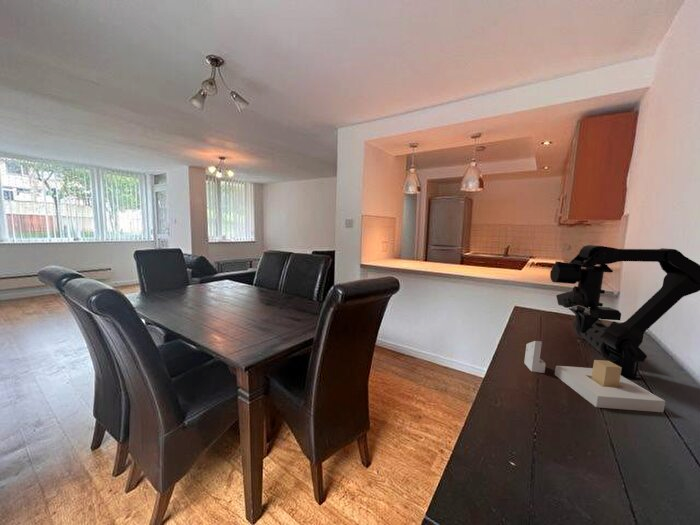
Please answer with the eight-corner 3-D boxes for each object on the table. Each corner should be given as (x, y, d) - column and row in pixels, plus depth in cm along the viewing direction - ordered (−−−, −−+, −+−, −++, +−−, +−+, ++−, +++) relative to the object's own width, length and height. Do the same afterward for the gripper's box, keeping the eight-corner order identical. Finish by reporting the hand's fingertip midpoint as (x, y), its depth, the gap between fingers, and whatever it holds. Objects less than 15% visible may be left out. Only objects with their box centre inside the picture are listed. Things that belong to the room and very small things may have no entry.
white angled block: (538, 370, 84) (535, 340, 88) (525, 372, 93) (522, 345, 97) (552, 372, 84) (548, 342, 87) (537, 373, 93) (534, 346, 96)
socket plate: (609, 378, 86) (610, 369, 86) (663, 412, 70) (665, 401, 70) (554, 374, 87) (555, 365, 87) (596, 407, 71) (597, 396, 71)
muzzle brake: (597, 362, 98) (601, 333, 97) (569, 335, 124) (573, 312, 123) (632, 368, 95) (637, 338, 93) (596, 339, 120) (600, 315, 119)
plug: (604, 387, 81) (608, 360, 80) (617, 395, 77) (621, 367, 76) (590, 386, 81) (594, 359, 80) (602, 394, 77) (606, 366, 76)
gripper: (544, 278, 99) (539, 321, 101) (585, 289, 80) (577, 342, 82) (578, 280, 98) (571, 323, 100) (626, 292, 80) (618, 345, 82)
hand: (582, 332), depth 91 cm, fingers closed
